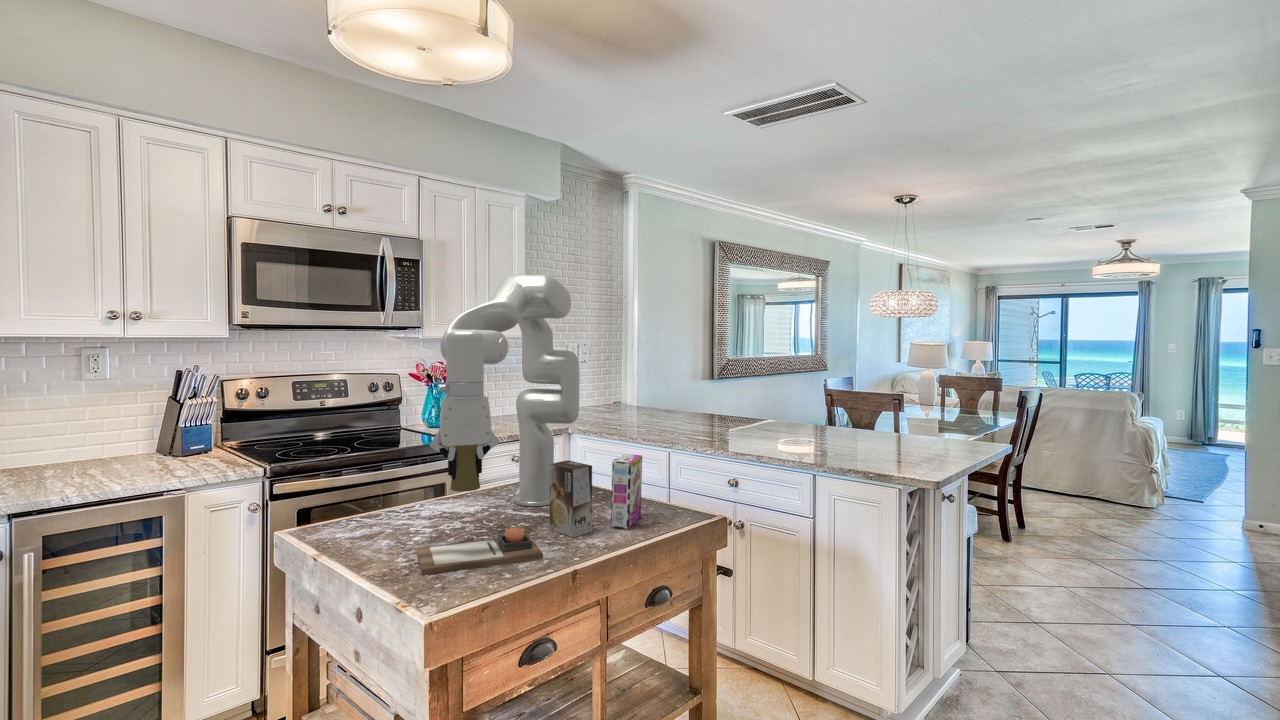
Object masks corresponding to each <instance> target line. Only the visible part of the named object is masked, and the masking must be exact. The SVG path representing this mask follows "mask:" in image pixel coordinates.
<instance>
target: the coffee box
mask: <svg viewBox="0 0 1280 720" xmlns="http://www.w3.org/2000/svg"><path fill="white" fill-rule="evenodd" d="M549 530H550V531H554V532H557V533H559V534H561V535H562V534H563V535H566V536H569V537H571V538H576V537H579V536H583V535H586V534H590V533H592V531H593V465H590V464H586V463H581V462H577V461H572V460H563V461H557V462H554V463H553V464H550V505H549ZM589 532H590V533H589Z"/></svg>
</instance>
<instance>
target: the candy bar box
mask: <svg viewBox="0 0 1280 720" xmlns="http://www.w3.org/2000/svg"><path fill="white" fill-rule="evenodd" d="M611 466H612V467H611V469H612V470H611V500H610V501H611V509H610V528H612V529H619V528H620V529H621V530H629V529H630V528H632V526H633V525H634V524H635V523H637V521H638V520H639V519H640V518H641V516H642V512H641V511H642V480H643V477H642V476H643V455H640V454H631V453H629V454H624V455H622V456H620V457H618V458H617V459H615V460H613V461H612V465H611Z"/></svg>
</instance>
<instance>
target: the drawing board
mask: <svg viewBox="0 0 1280 720" xmlns="http://www.w3.org/2000/svg"><path fill="white" fill-rule="evenodd" d="M416 549H417V550H416V554H417V558H418V563H419V567H420V571H421V575H422V576H425V575H426V576H427V575H434V574H440V573H447V572H448V573H449V572H455V571H461V570H463V571H464V570H469V569H470V570H471V569H477V568H485V567H492V566H493V567H494V566H499V565H500V566H501V565H508V564H514V563H515V564H516V563H521V562H528V561H529V562H530V561H536V560H537V559H538V560H543V559H544V552H543V551H542V550H541V549H540V548H539V547H538V545H537V544H536V542H535V541H534V540H533V539H532V538H531V536H530V535H529V534H527V533H525V532H524V540H523V541H520V542H507V541H506V540H505V535H498V536H497V537H496V538H489V539H480V540H479V539H478V540H472V541H463V542H455V543H447V544H438V545H430V546H428V545H427V546H421V547H416ZM538 560H537V561H538Z"/></svg>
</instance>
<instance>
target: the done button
mask: <svg viewBox="0 0 1280 720" xmlns="http://www.w3.org/2000/svg"><path fill="white" fill-rule="evenodd" d="M524 533H525V528H523V527H520V526H519V527H517V526H515V527H509V528H506V529H505V535H504V536H505V540H506V541H507V542H520V541H523V540H524Z"/></svg>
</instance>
